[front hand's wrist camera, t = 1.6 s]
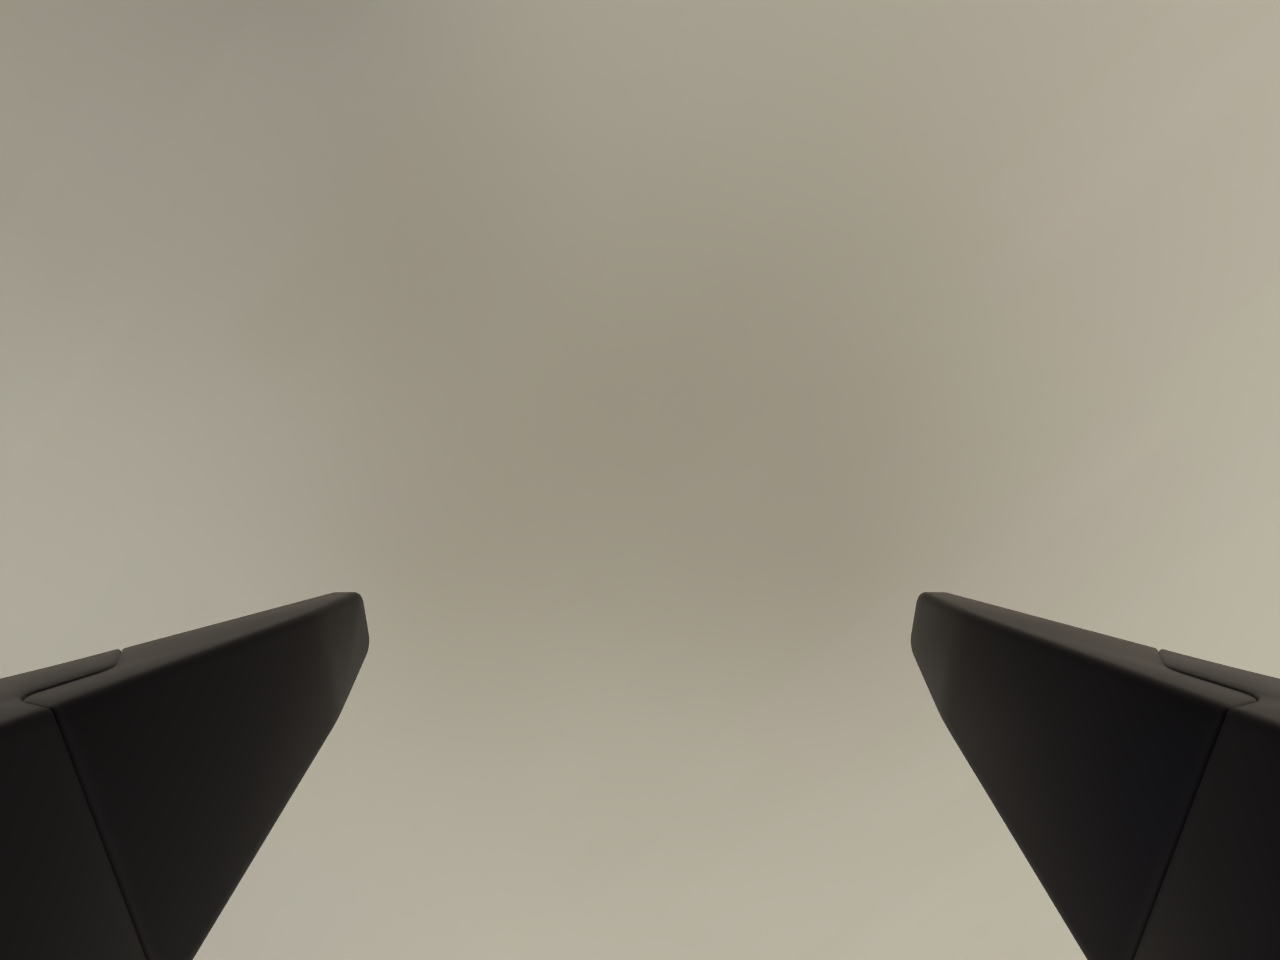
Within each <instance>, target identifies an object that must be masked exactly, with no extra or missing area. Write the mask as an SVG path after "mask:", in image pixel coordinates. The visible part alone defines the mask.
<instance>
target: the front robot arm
mask: <svg viewBox="0 0 1280 960" xmlns="http://www.w3.org/2000/svg"><path fill="white" fill-rule="evenodd" d="M368 647H369V633H368V627H367V621H366V615H365V609H364V603H363V600H362V597H361V596H360V594H358V593H356V592H336V593H330V594H327V595H323V596H319V597H315V598H312V599H308V600H304V601H300V602H297V603H293V604H289V605H285V606H281V607H278V608H274V609H270V610H266V611H263V612H259V613H255V614H251V615H248V616H244V617H240V618H236V619H233V620H229V621H225V622H221V623H218V624H214V625H210V626H206V627H203V628H199V629H195V630H191V631H188V632H184V633H180V634H176V635H172V636H169V637H165V638H161V639H157V640H154V641H150V642H146V643H142V644H139V645H135V646H131V647H127V648H124V649H123V650H122V652H121V651H120V650H119V649H116V650H113V651H109V652H105V653H101V654H97V655H94V656H90V657H86V658H82V659H78V660H74V661H70V662H66V663H62V664H59V665H55V666H51V667H47V668H43V669H39V670H34V671H30V672H26V673H22V674H18V675H14V676H10V677H6V678H2V679H0V960H193V958H194V956H195V955H196V953H197V951H198V950H199V948H200V946H201V945H202V943H203V942H204V940H205V938H206V937H207V935H208V933H209V932H210V930H211V928H212V927H213V925H214V923H215V922H216V920H217V918H218V917H219V915H220V913H221V912H222V910H223V908H224V907H225V905H226V903H227V902H228V900H229V899H230V897H231V895H232V894H233V892H234V890H235V889H236V887H237V885H238V884H239V882H240V880H241V879H242V877H243V875H244V874H245V872H246V870H247V869H248V867H249V865H250V864H251V862H252V860H253V859H254V857H255V856H256V854H257V852H258V851H259V849H260V847H261V846H262V844H263V842H264V841H265V839H266V837H267V836H268V834H269V832H270V831H271V829H272V827H273V826H274V824H275V822H276V821H277V819H278V817H279V816H280V814H281V813H282V811H283V809H284V808H285V806H286V804H287V803H288V801H289V799H290V798H291V796H292V794H293V793H294V791H295V789H296V788H297V786H298V784H299V783H300V781H301V779H302V778H303V776H304V774H305V773H306V771H307V770H308V768H309V766H310V765H311V763H312V761H313V760H314V758H315V756H316V755H317V753H318V751H319V750H320V748H321V746H322V745H323V743H324V741H325V740H326V738H327V736H328V735H329V733H330V731H331V730H332V728H333V726H334V724H335V723H336V721H337V719H338V717H339V715H340V713H341V711H342V709H343V707H344V705H345V702H346V700H347V698H348V695H349V693H350V691H351V689H352V686H353V684H354V682H355V680H356V677H357V675H358V673H359V670H360V668H361V666H362V664H363V661H364V659H365V657H366V654H367V652H368ZM911 647H912V652H913V654H914V657H915V659H916V661H917V664H918V666H919V668H920V670H921V673H922V675H923V677H924V680H925V682H926V684H927V686H928V689H929V691H930V693H931V695H932V698H933V700H934V702H935V705H936V707H937V709H938V711H939V713H940V715H941V717H942V719H943V721H944V723H945V724H946V726H947V728H948V730H949V731H950V733H951V735H952V736H953V738H954V740H955V741H956V743H957V745H958V746H959V748H960V750H961V751H962V753H963V755H964V756H965V758H966V760H967V761H968V763H969V765H970V766H971V768H972V770H973V771H974V773H975V774H976V776H977V778H978V779H979V781H980V783H981V784H982V786H983V788H984V789H985V791H986V793H987V794H988V796H989V798H990V799H991V801H992V803H993V804H994V806H995V808H996V809H997V811H998V813H999V814H1000V816H1001V817H1002V819H1003V821H1004V822H1005V824H1006V826H1007V827H1008V829H1009V831H1010V832H1011V834H1012V836H1013V837H1014V839H1015V841H1016V842H1017V844H1018V846H1019V847H1020V849H1021V851H1022V852H1023V854H1024V856H1025V857H1026V859H1027V860H1028V862H1029V864H1030V865H1031V867H1032V869H1033V870H1034V872H1035V874H1036V875H1037V877H1038V879H1039V880H1040V882H1041V884H1042V885H1043V887H1044V889H1045V890H1046V892H1047V894H1048V895H1049V897H1050V899H1051V900H1052V902H1053V903H1054V905H1055V907H1056V908H1057V910H1058V912H1059V913H1060V915H1061V917H1062V918H1063V920H1064V922H1065V923H1066V925H1067V927H1068V928H1069V930H1070V932H1071V933H1072V935H1073V937H1074V938H1075V940H1076V942H1077V943H1078V945H1079V946H1080V948H1081V950H1082V951H1083V953H1084V955H1085V956H1086V958H1087V960H1280V679H1278V678H1274V677H1270V676H1266V675H1262V674H1258V673H1254V672H1250V671H1246V670H1241V669H1237V668H1233V667H1229V666H1225V665H1221V664H1218V663H1214V662H1210V661H1206V660H1202V659H1198V658H1194V657H1190V656H1186V655H1183V654H1179V653H1175V652H1171V651H1167V650H1164V649H1161V650H1160V651H1159V652H1158V650H1157V649H1156V648H1153V647H1149V646H1145V645H1141V644H1138V643H1134V642H1130V641H1126V640H1123V639H1119V638H1115V637H1111V636H1108V635H1104V634H1100V633H1096V632H1093V631H1089V630H1085V629H1081V628H1077V627H1074V626H1070V625H1066V624H1062V623H1059V622H1055V621H1051V620H1047V619H1044V618H1040V617H1036V616H1032V615H1029V614H1025V613H1021V612H1017V611H1014V610H1010V609H1006V608H1002V607H999V606H995V605H991V604H987V603H983V602H980V601H976V600H972V599H968V598H965V597H961V596H957V595H953V594H950V593H944V592H924V593H922V594H920V596H919V597H918V600H917V603H916V609H915V615H914V621H913V627H912V633H911Z"/></svg>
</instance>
